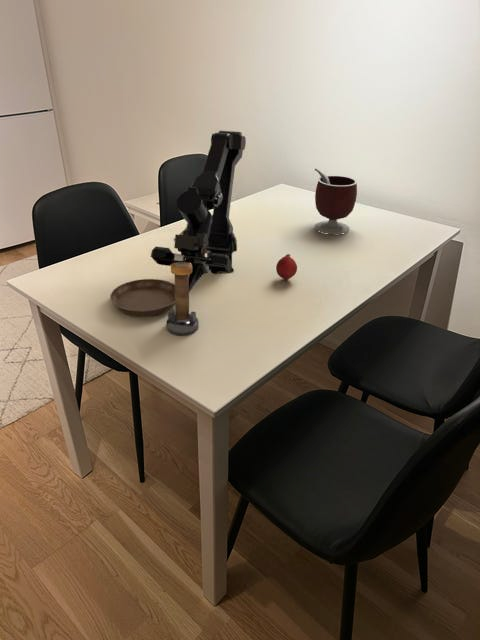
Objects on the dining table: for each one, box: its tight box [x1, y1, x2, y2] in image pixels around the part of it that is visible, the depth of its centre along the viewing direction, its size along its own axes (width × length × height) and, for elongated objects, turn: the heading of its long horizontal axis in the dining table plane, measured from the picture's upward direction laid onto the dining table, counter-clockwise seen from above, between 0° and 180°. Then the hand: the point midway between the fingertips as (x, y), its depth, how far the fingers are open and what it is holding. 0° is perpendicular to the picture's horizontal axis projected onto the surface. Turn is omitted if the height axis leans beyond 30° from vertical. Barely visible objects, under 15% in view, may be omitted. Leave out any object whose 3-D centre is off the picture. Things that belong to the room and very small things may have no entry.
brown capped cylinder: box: [170, 262, 192, 320], centre depth 114 cm, size 5×5×13 cm
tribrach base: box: [165, 308, 199, 337], centre depth 117 cm, size 8×8×4 cm
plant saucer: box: [110, 278, 175, 317], centre depth 127 cm, size 18×18×3 cm
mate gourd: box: [314, 167, 358, 234], centre depth 171 cm, size 16×14×20 cm
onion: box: [275, 253, 298, 281], centre depth 138 cm, size 6×6×8 cm
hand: (184, 293), depth 116 cm, fingers closed, pressing on brown capped cylinder
